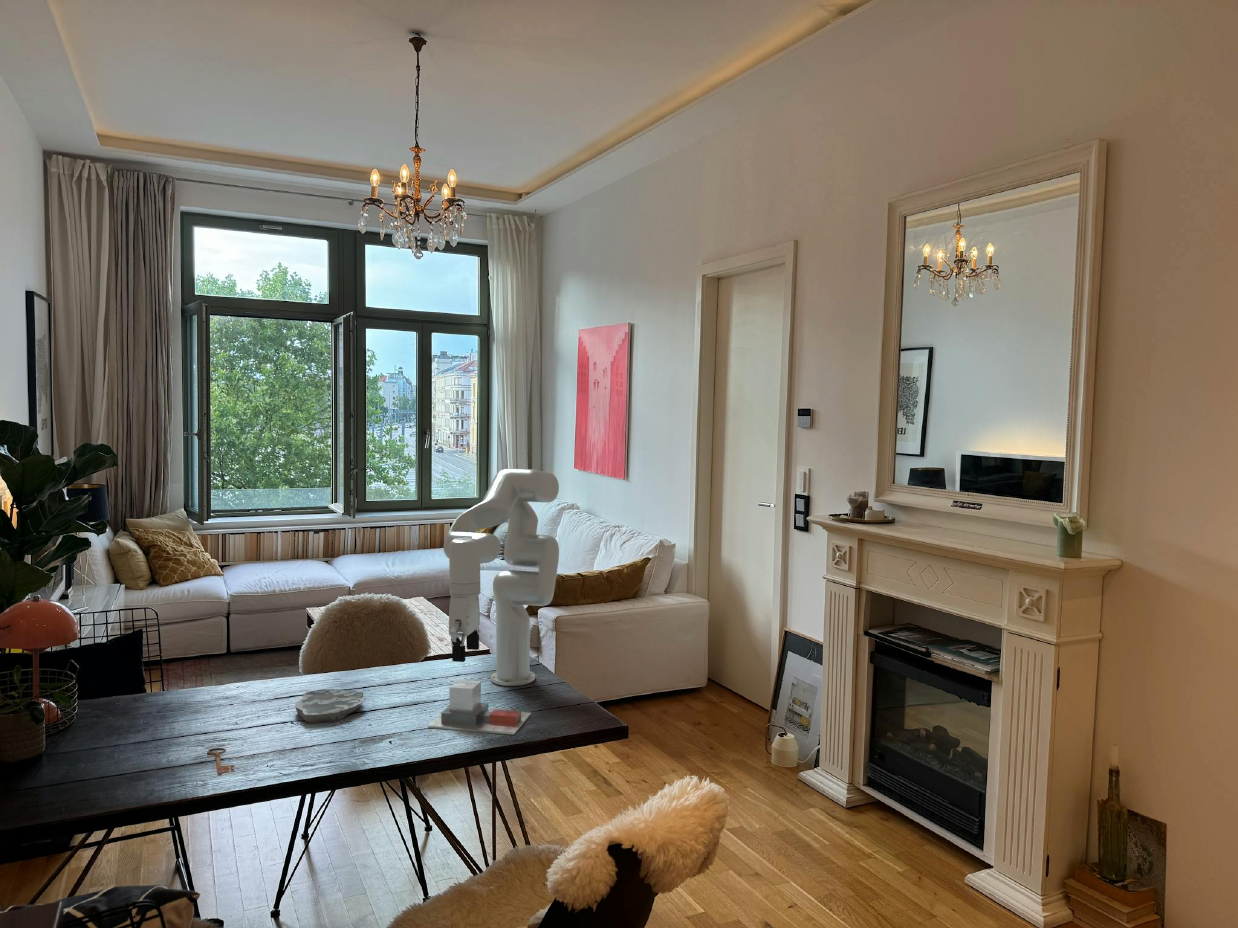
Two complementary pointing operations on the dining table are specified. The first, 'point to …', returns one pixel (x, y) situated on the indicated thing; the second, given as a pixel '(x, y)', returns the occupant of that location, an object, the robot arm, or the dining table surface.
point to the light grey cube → (465, 696)
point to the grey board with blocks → (481, 720)
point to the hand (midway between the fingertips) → (466, 655)
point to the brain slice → (328, 704)
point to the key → (218, 763)
